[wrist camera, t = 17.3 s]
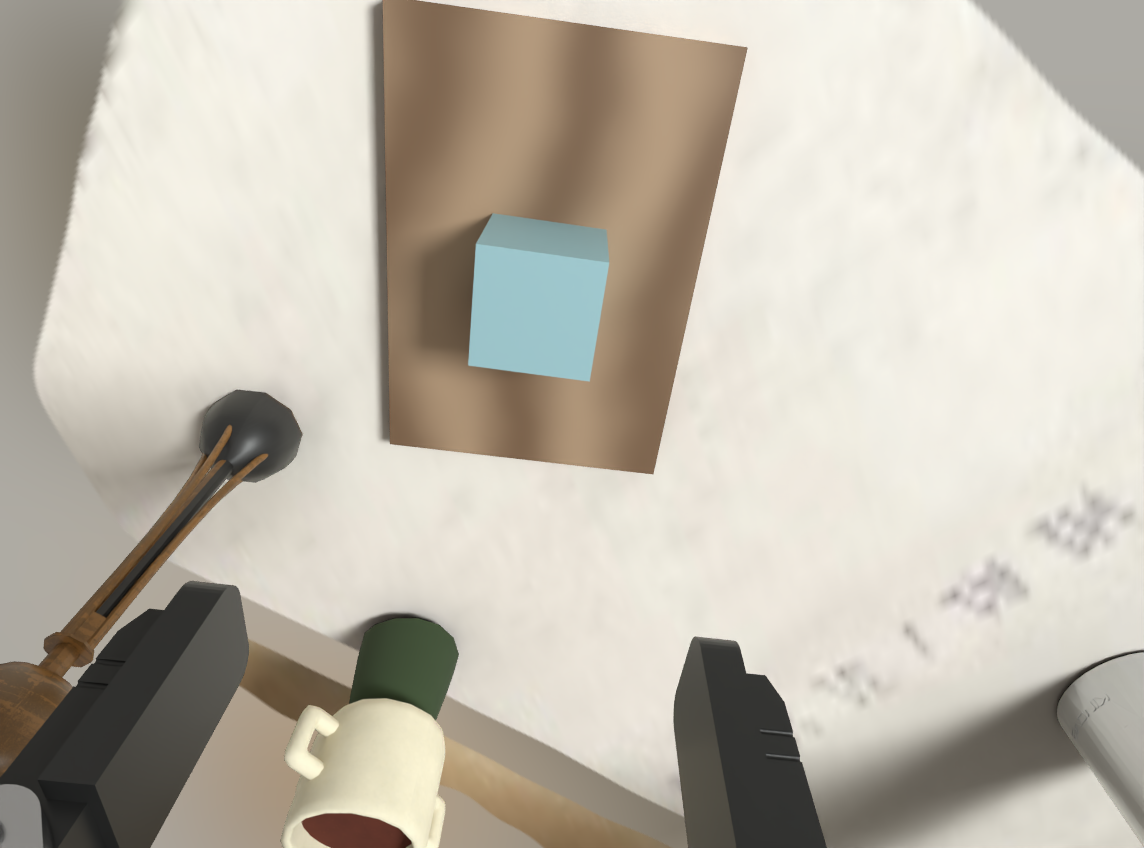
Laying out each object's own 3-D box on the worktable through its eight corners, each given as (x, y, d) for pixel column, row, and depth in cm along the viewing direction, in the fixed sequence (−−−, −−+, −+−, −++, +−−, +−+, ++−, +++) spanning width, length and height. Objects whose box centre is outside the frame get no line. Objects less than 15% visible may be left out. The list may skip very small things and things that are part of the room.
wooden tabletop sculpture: (334, 439, 36) (101, 806, 19) (291, 490, 38) (41, 868, 21) (236, 373, 34) (-122, 712, 17) (195, 429, 36) (-167, 789, 19)
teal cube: (606, 229, 29) (609, 262, 25) (589, 334, 32) (589, 381, 28) (492, 213, 29) (476, 244, 25) (484, 320, 32) (468, 365, 27)
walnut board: (742, 47, 27) (747, 47, 26) (651, 464, 37) (653, 474, 36) (389, -4, 26) (382, -5, 25) (394, 434, 36) (389, 443, 35)
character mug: (314, 615, 43) (216, 820, 32) (395, 567, 41) (320, 769, 30) (427, 707, 47) (377, 916, 36) (506, 668, 45) (478, 878, 34)
